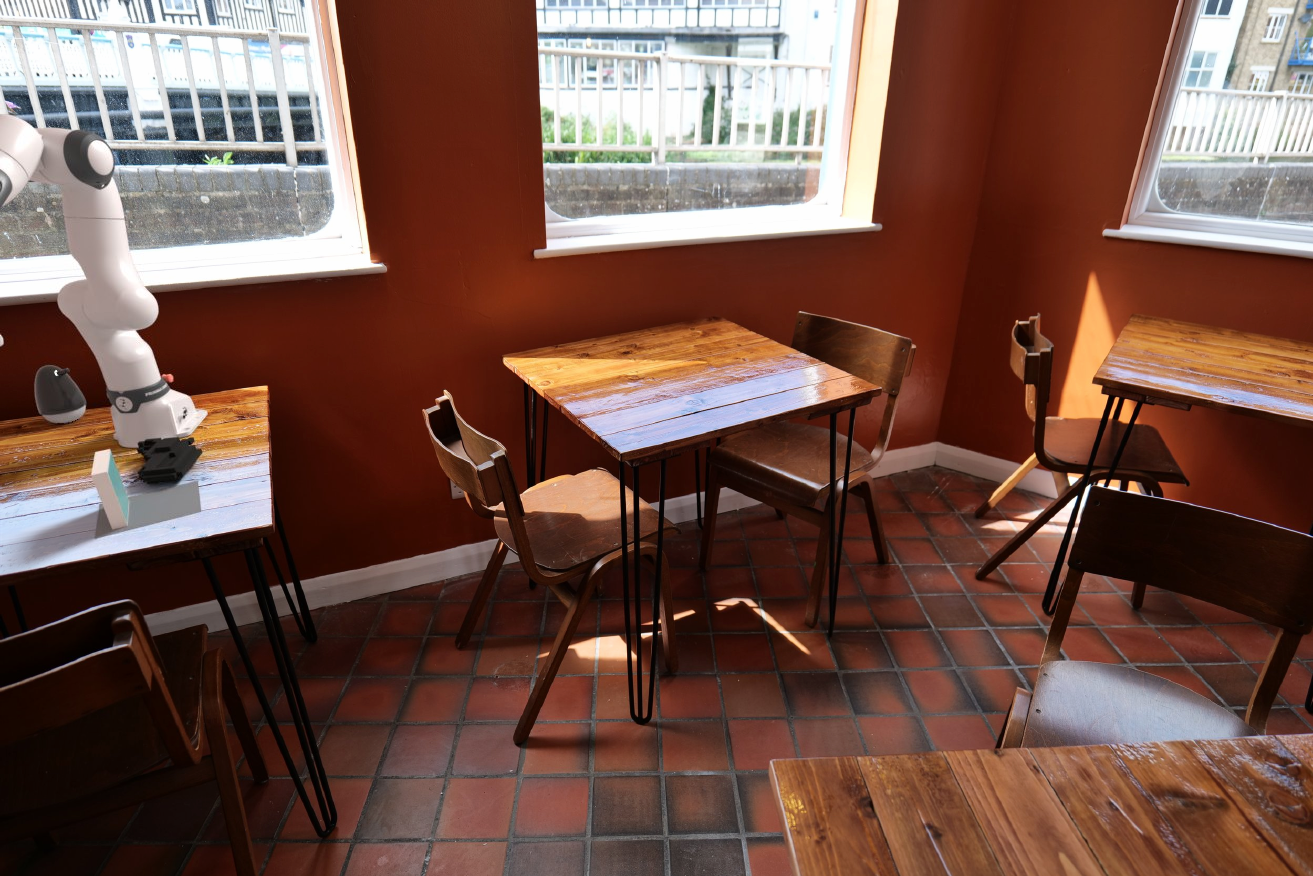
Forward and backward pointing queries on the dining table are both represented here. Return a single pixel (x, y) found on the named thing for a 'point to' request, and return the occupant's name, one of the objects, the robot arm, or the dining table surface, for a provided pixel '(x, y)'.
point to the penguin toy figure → (58, 395)
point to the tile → (110, 489)
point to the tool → (166, 459)
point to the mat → (154, 508)
